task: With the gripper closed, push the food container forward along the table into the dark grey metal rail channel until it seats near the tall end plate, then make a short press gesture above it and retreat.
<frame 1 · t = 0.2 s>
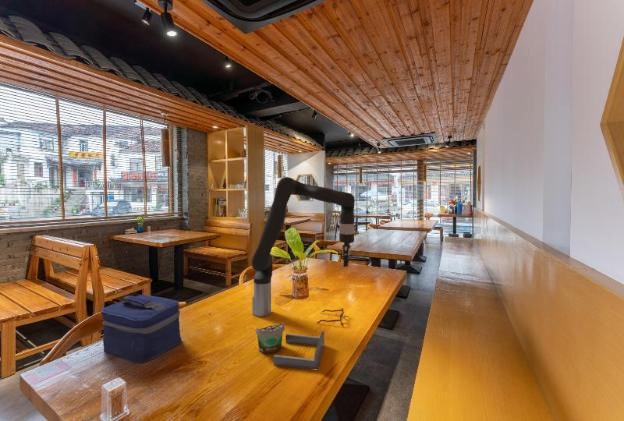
hand: (346, 264, 140), 29 cm above the table, fingers open, 8 cm apart
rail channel: (300, 354, 111), on the table
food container: (272, 351, 113), on the table
glasses: (330, 320, 143), on the table
lunch bag: (143, 345, 117), on the table
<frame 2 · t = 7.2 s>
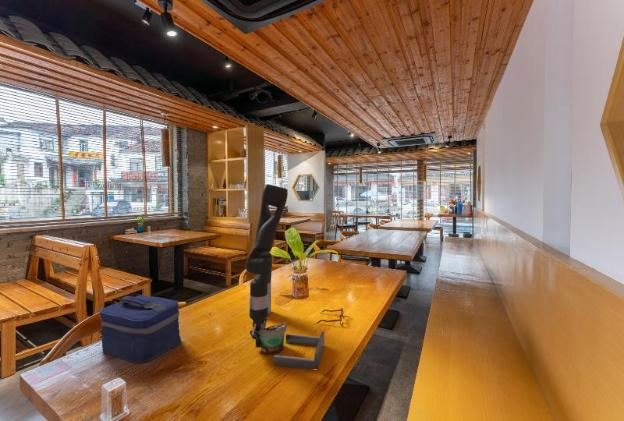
hand: (258, 346, 113), 2 cm above the table, fingers closed
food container: (274, 352, 113), on the table, touching gripper
everything else where it was.
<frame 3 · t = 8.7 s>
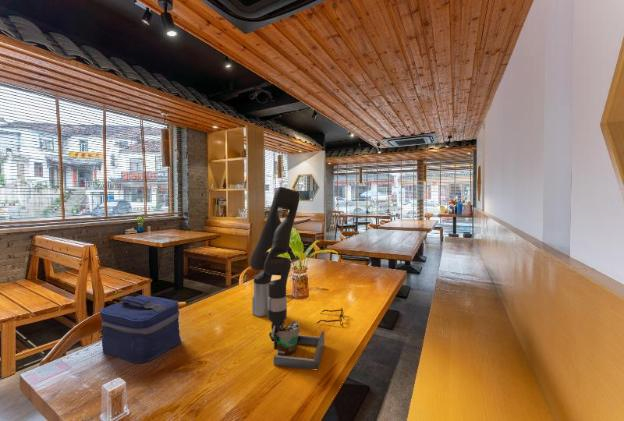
hand: (277, 348, 112), 2 cm above the table, fingers closed
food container: (290, 351, 113), on the table, touching gripper, hand
everything else where it was.
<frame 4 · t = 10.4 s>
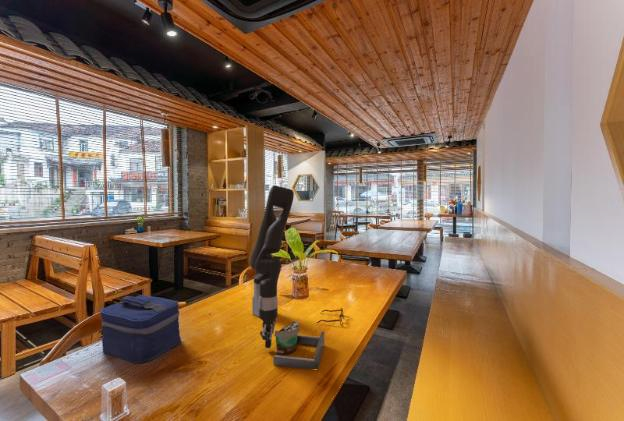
hand: (268, 347, 113), 1 cm above the table, fingers closed
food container: (290, 351, 113), on the table
everything else where it was.
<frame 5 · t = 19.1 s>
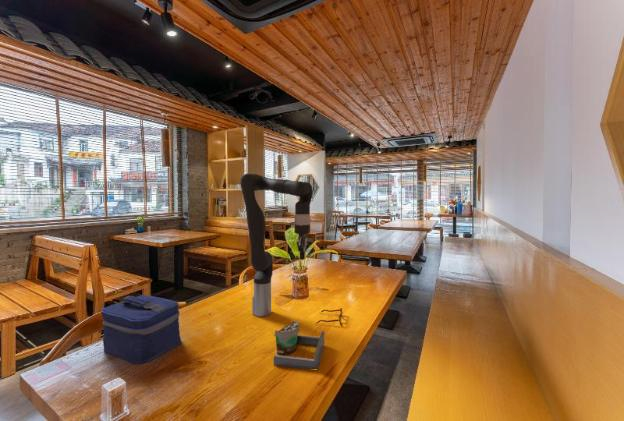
hand: (302, 259, 133), 33 cm above the table, fingers closed
nothing on the table moved.
at the end: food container inside the target area (5.0 cm from its centre), on the table; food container tilted 0°; the gripper is holding nothing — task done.
